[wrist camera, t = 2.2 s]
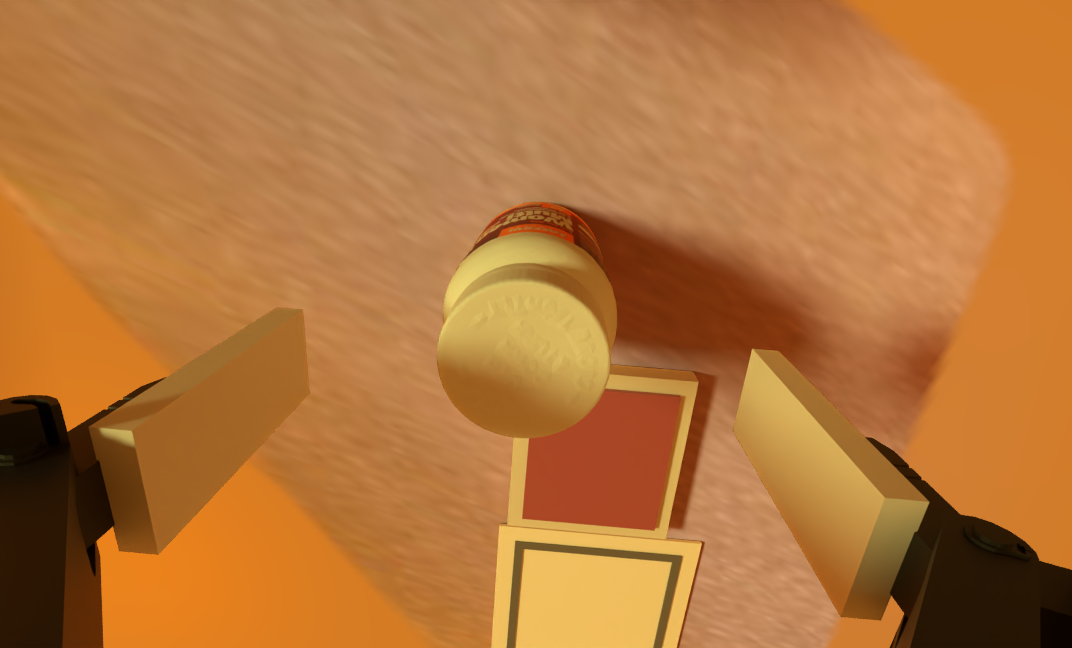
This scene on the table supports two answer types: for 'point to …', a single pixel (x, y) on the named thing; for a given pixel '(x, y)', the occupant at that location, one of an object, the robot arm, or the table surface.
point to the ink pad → (609, 459)
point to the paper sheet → (590, 589)
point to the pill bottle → (528, 324)
